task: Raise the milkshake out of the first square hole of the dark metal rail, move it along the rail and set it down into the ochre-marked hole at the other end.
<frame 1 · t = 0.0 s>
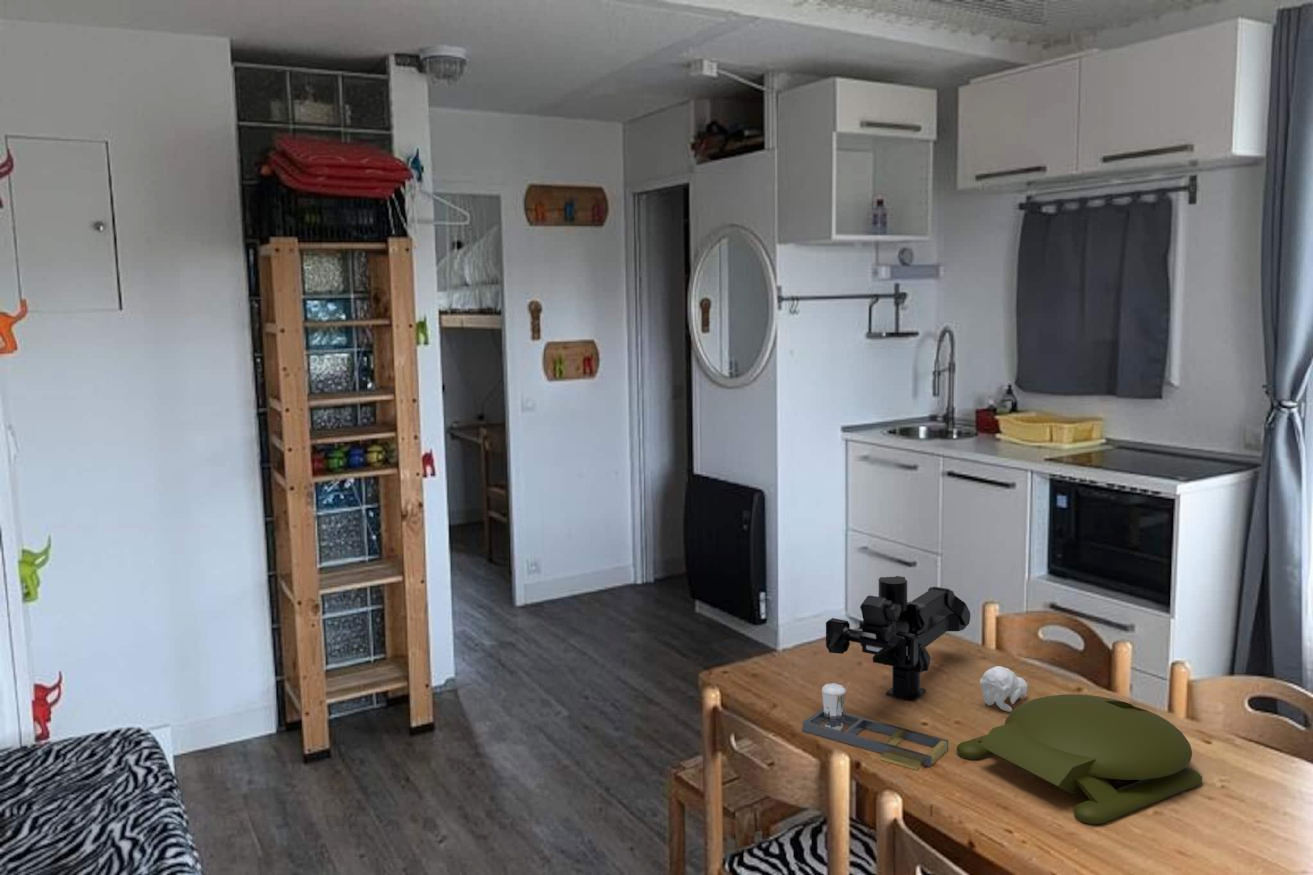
hand: (851, 654, 184), 17 cm above the table, tool horizontal, fingers open, 9 cm apart
rail: (873, 739, 185), on the table
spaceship: (1085, 766, 173), on the table
milkshake: (835, 730, 190), on the table
white bear figurine: (1006, 704, 200), on the table
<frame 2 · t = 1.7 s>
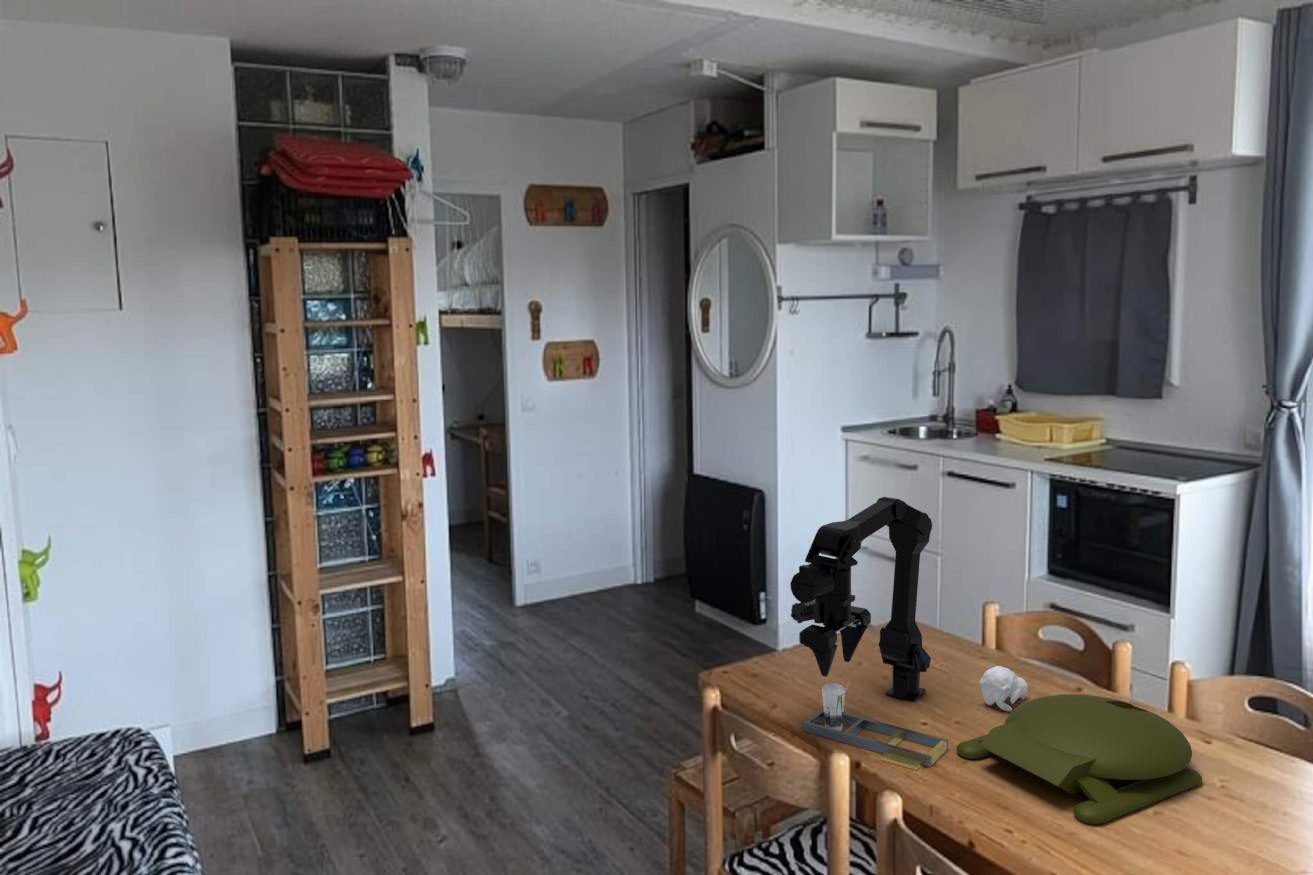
hand: (836, 668, 188), 12 cm above the table, tool pointing down, fingers open, 9 cm apart
nothing on the table moved.
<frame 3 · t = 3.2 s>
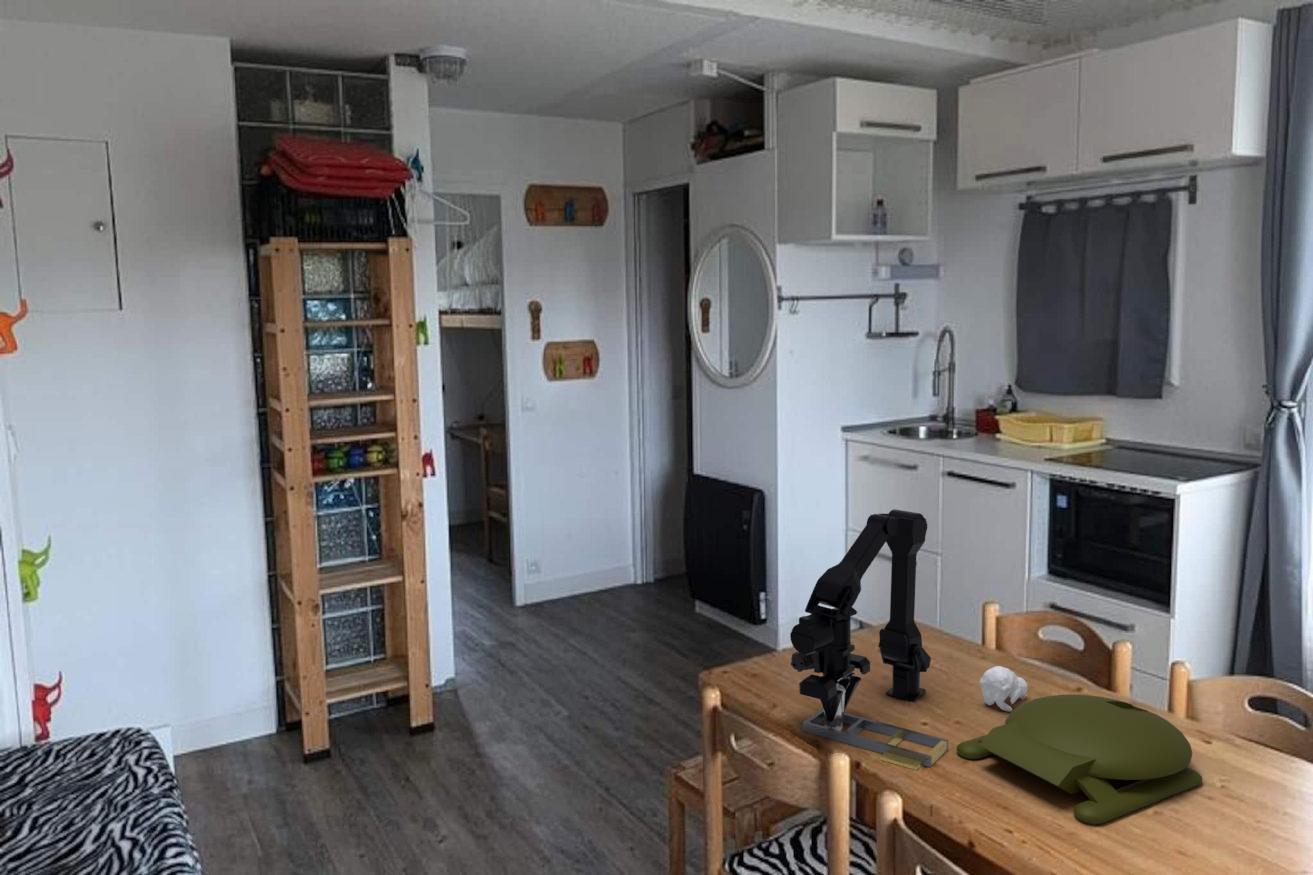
hand: (835, 717, 189), 3 cm above the table, tool pointing down, fingers closed on milkshake, 4 cm apart
milkshake: (835, 730, 190), on the table, touching gripper
everything else where it was.
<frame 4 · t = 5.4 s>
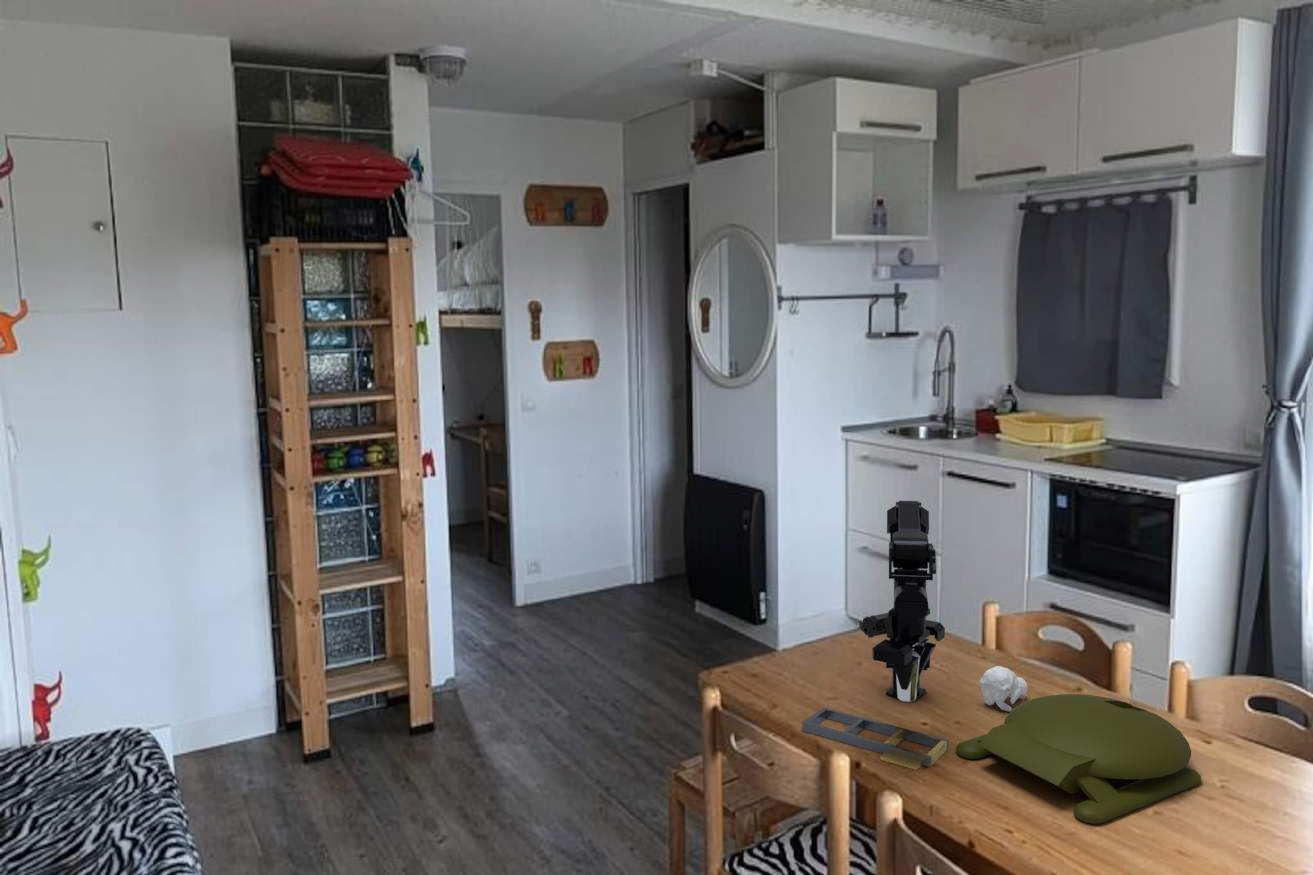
hand: (909, 685, 178), 13 cm above the table, tool pointing down, fingers closed on milkshake, 4 cm apart
milkshake: (909, 699, 179), point 10 cm above the table, touching gripper
everything else where it was.
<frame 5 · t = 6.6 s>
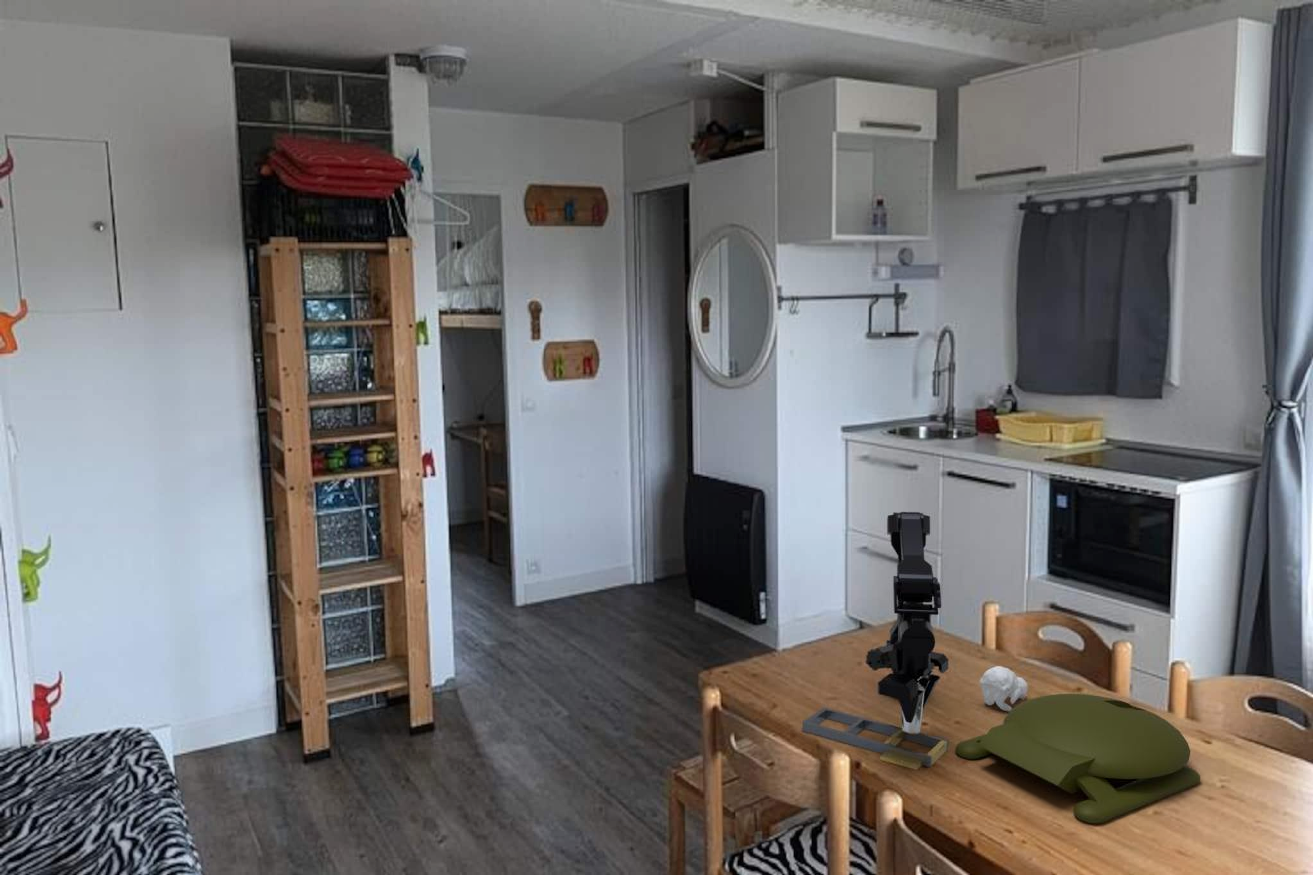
hand: (913, 718, 179), 6 cm above the table, tool pointing down, fingers closed on milkshake, 4 cm apart
milkshake: (913, 731, 179), point 4 cm above the table, touching gripper
everything else where it was.
when the fingers open (4 cm above the table, at t = 7.4 s): milkshake drops 1 cm, on the table.
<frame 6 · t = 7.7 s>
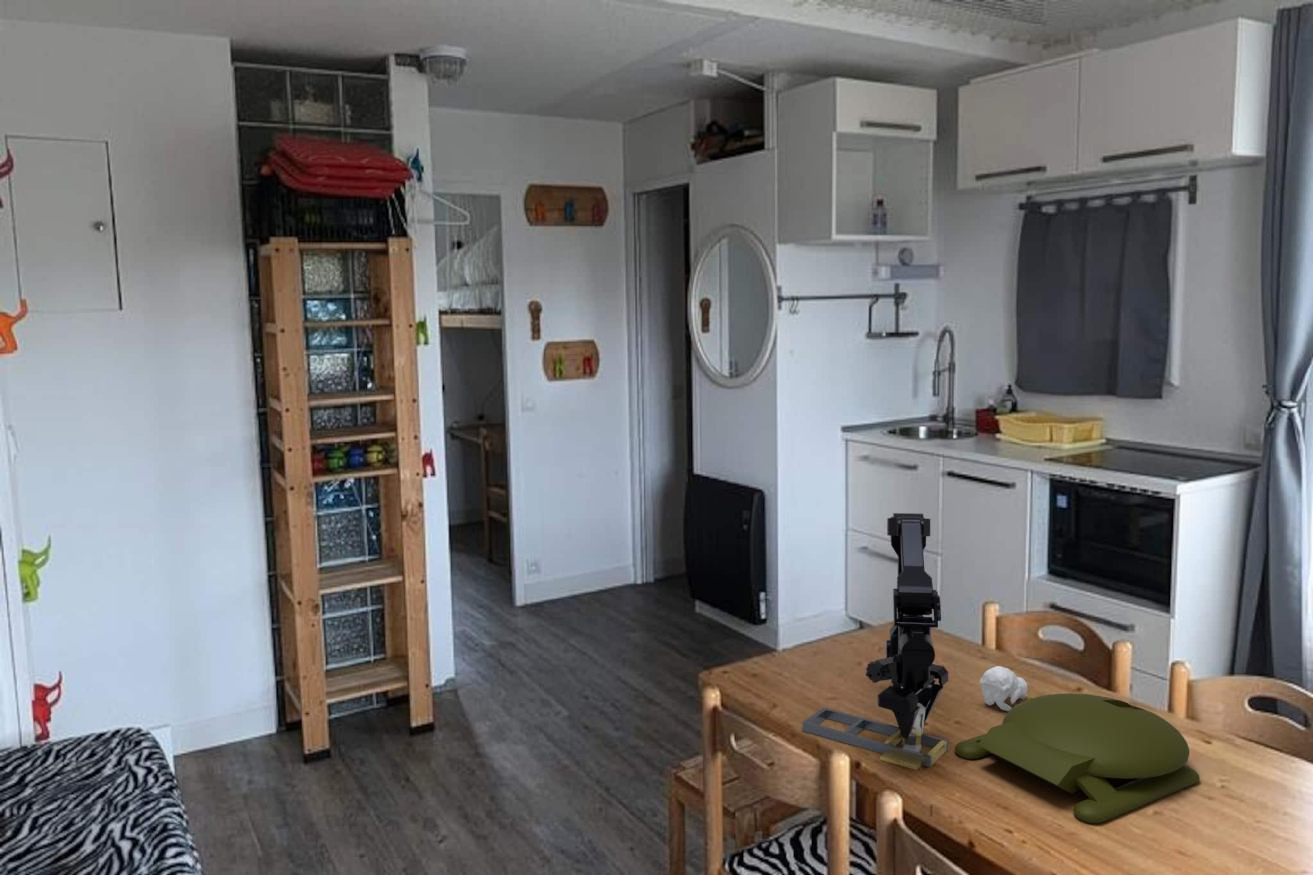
hand: (913, 730, 179), 4 cm above the table, tool pointing down, fingers open, 7 cm apart
milkshake: (914, 750, 180), on the table
everything else where it was.
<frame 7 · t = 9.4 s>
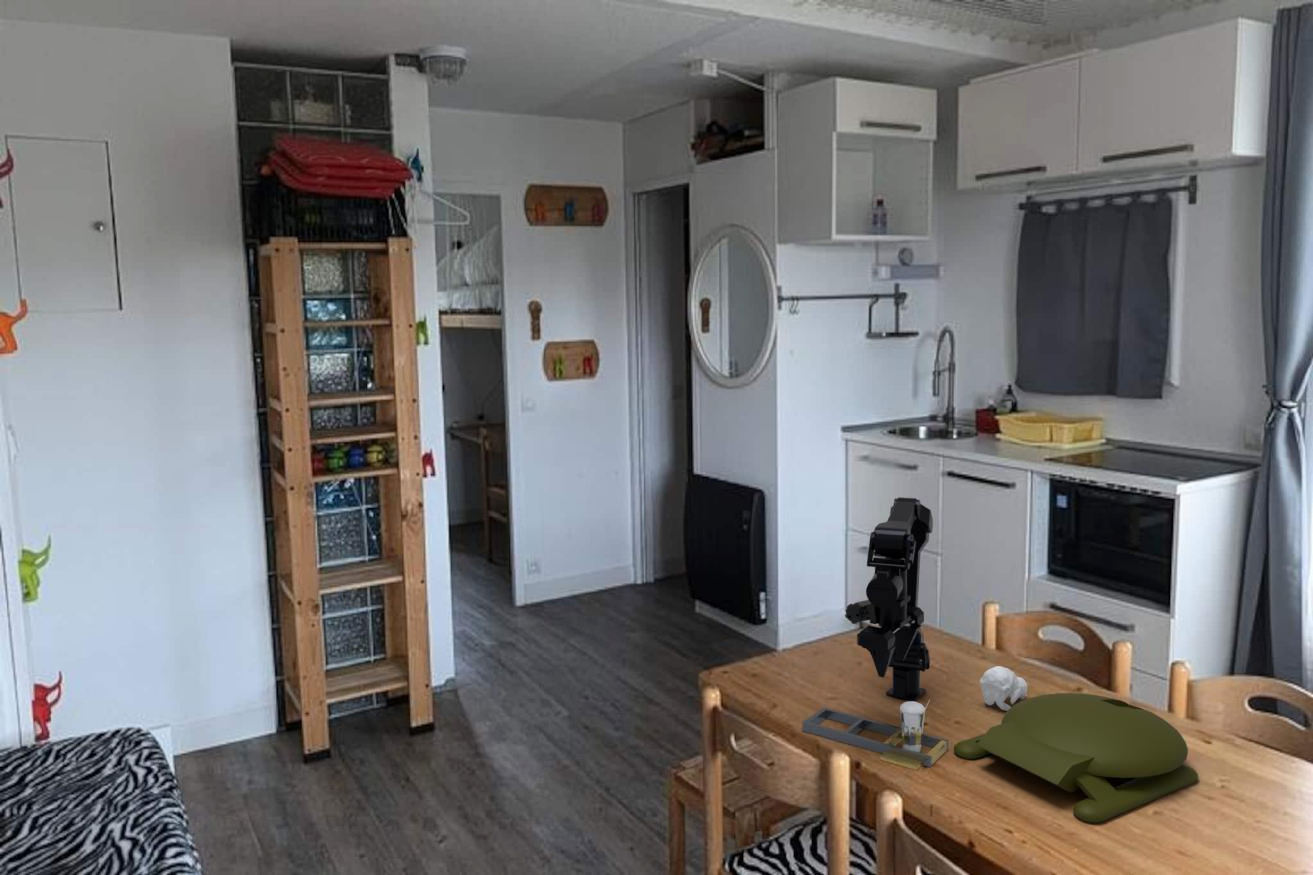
hand: (891, 668, 187), 12 cm above the table, tool pointing down, fingers open, 9 cm apart
nothing on the table moved.
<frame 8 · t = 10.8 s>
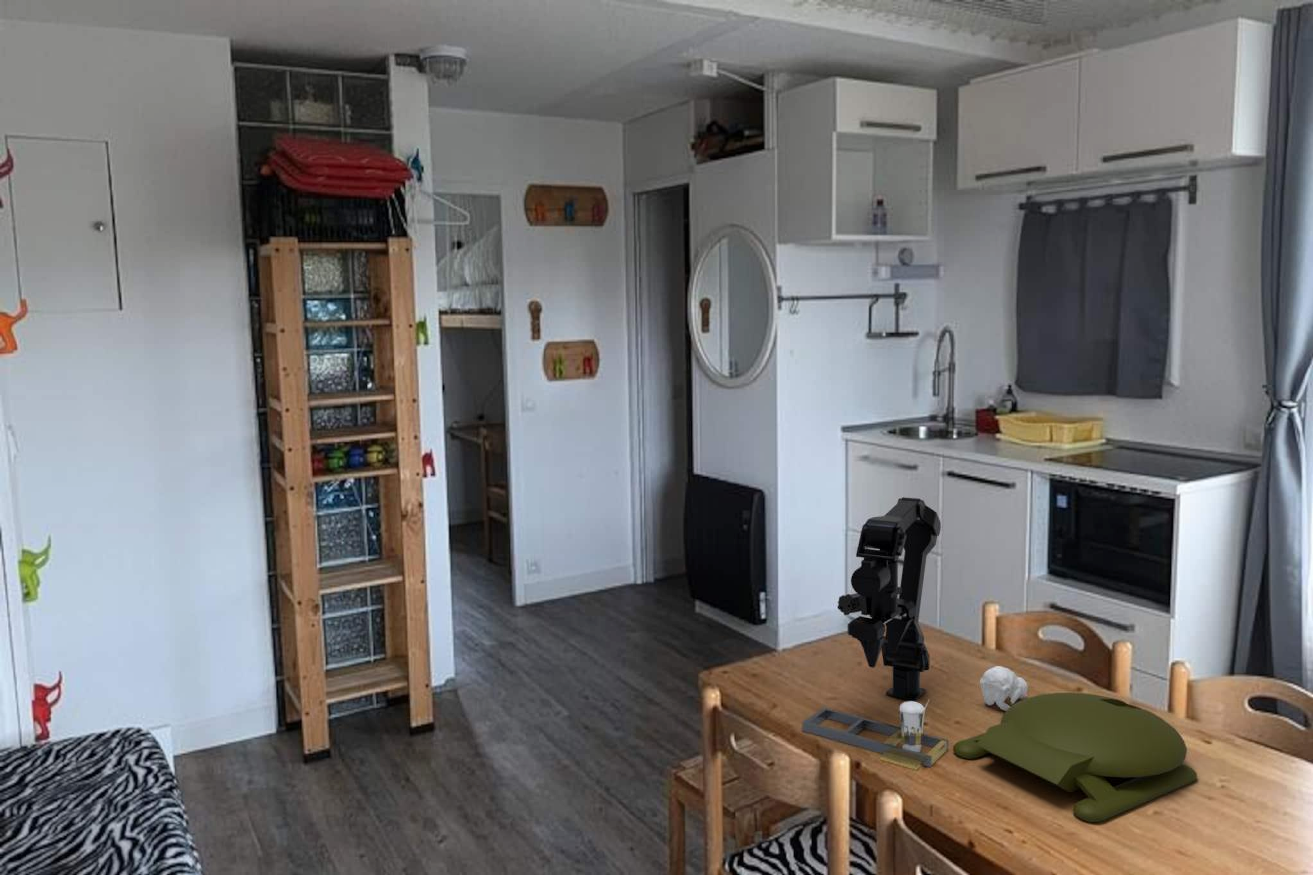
hand: (882, 659, 190), 13 cm above the table, tool pointing down, fingers open, 9 cm apart
nothing on the table moved.
at the end: milkshake 0.5 cm from the target spot on the rail, point 0.0 cm above the rail's base; milkshake tilted 0°; the gripper is holding nothing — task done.
